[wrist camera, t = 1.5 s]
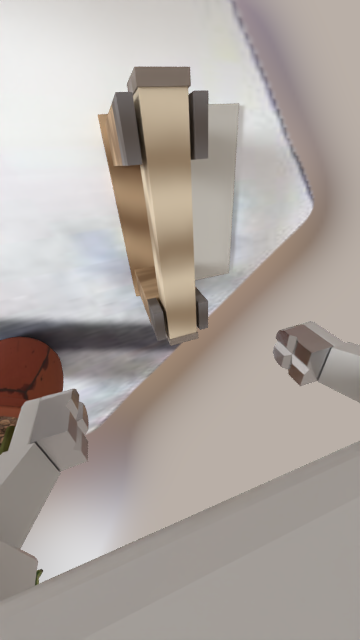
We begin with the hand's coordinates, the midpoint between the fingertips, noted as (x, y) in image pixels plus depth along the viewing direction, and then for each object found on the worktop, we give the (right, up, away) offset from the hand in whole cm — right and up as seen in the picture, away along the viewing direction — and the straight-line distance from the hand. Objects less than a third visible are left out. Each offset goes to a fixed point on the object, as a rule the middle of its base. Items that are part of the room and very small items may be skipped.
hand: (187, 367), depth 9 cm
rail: (-2, +10, +13) cm, 17 cm away
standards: (-5, +15, +21) cm, 27 cm away
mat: (+3, +18, +23) cm, 29 cm away
